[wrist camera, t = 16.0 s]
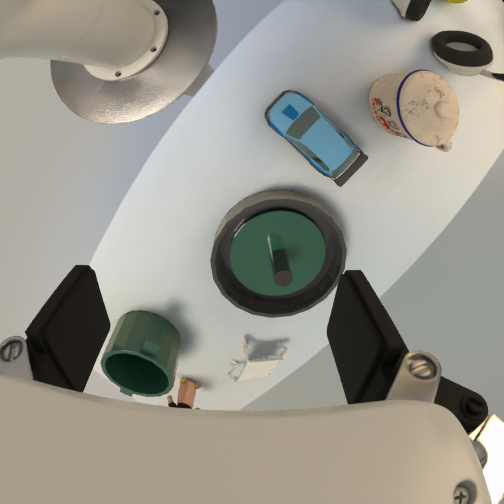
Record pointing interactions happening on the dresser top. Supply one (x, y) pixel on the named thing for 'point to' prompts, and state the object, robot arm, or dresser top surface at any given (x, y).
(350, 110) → the dresser top surface
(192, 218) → the dresser top surface
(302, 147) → the toy car
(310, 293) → the pan
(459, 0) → the yellow-green teardrop shape
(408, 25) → the dresser top surface
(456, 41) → the headphones
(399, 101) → the teacup with lid
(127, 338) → the pot
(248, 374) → the origami figure
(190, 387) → the grandmother figurine
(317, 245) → the lid
